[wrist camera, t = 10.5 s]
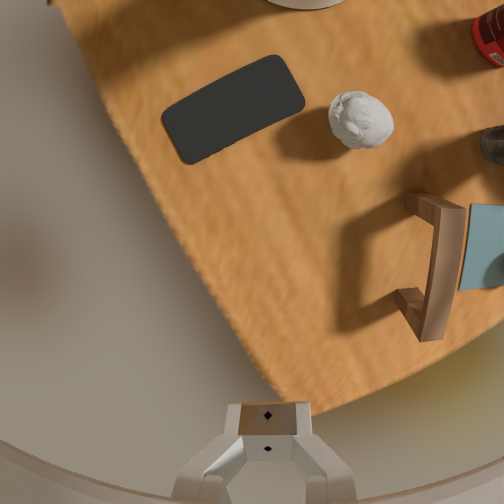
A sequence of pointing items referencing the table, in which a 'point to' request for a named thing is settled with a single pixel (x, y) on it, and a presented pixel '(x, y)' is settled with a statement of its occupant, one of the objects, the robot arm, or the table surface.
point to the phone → (233, 108)
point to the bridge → (434, 266)
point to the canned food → (490, 35)
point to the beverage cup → (493, 144)
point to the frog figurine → (359, 120)
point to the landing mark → (484, 248)
